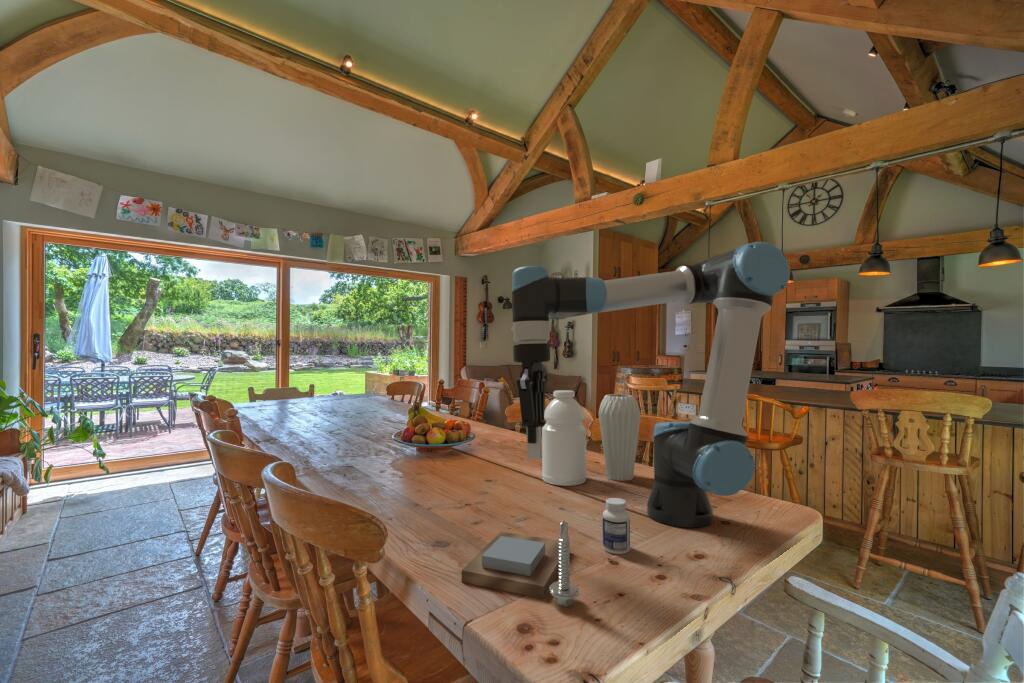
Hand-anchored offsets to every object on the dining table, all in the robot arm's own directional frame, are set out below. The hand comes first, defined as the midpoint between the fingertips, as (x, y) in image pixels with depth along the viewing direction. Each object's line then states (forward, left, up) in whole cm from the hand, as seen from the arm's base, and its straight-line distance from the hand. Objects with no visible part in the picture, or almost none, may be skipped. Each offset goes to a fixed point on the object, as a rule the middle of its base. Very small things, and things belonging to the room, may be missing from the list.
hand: (534, 458), depth 91 cm
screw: (-10, +16, -19) cm, 27 cm away
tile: (+1, +6, -15) cm, 16 cm away
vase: (-9, -60, -19) cm, 63 cm away
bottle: (+7, -51, -19) cm, 54 cm away
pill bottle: (-15, -7, -19) cm, 25 cm away
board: (+1, +7, -19) cm, 20 cm away
